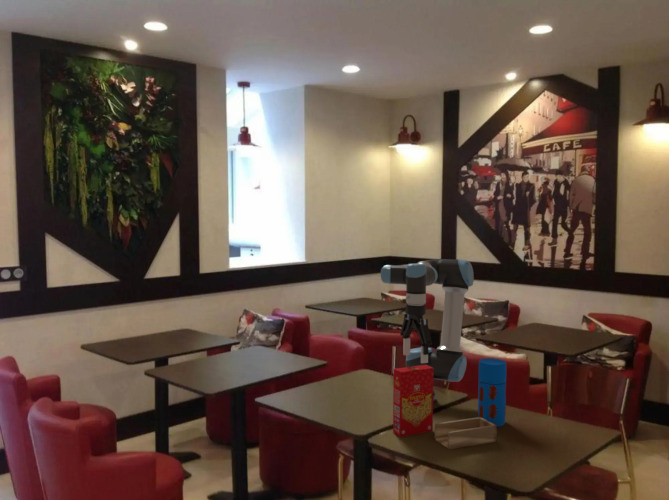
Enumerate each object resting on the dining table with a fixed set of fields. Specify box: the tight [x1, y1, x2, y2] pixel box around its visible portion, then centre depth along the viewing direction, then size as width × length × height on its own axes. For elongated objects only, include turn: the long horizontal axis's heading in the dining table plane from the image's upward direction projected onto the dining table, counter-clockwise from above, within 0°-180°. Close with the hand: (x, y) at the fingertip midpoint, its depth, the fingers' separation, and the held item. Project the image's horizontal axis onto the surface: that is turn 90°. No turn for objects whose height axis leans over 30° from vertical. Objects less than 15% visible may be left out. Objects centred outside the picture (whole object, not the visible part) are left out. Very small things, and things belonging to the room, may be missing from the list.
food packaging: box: [392, 365, 434, 438], centre depth 236 cm, size 15×5×25 cm, turn 115°
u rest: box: [433, 416, 498, 450], centre depth 227 cm, size 10×20×6 cm, turn 111°
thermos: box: [477, 357, 507, 427], centre depth 246 cm, size 11×11×25 cm
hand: (415, 358), depth 234 cm, fingers open, 13 cm apart
